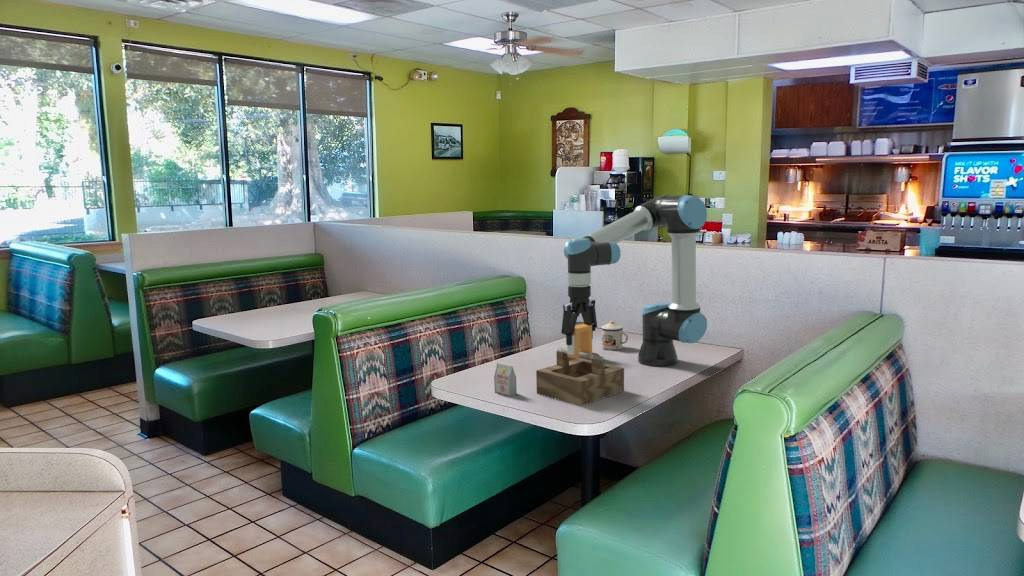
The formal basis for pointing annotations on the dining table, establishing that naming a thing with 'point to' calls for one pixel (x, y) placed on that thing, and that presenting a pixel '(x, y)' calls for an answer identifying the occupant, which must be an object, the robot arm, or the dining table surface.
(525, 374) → the dining table surface
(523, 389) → the dining table surface
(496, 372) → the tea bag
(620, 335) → the teacup with lid
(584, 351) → the orange u-shaped bracket
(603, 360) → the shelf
